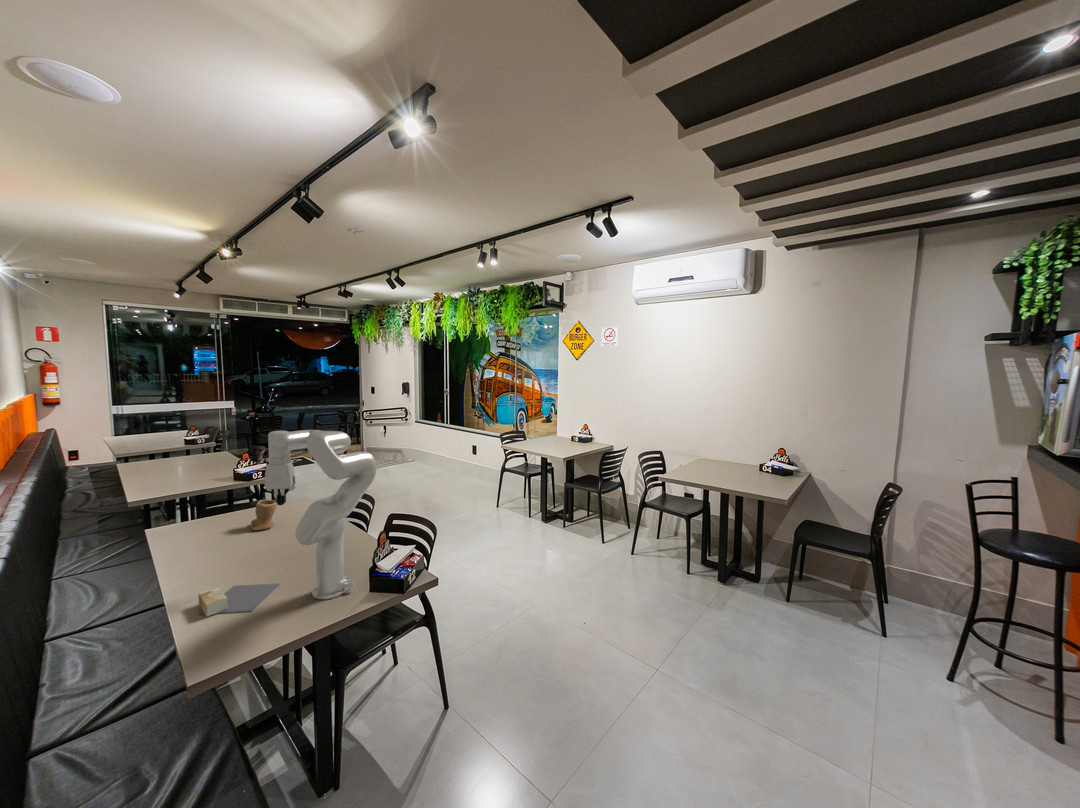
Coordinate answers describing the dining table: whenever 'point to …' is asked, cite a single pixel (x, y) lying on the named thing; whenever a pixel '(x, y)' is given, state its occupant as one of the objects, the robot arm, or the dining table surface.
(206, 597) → the skincare box
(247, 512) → the dining table surface
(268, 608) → the dining table surface
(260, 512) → the brown boot
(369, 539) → the dining table surface
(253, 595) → the mat
